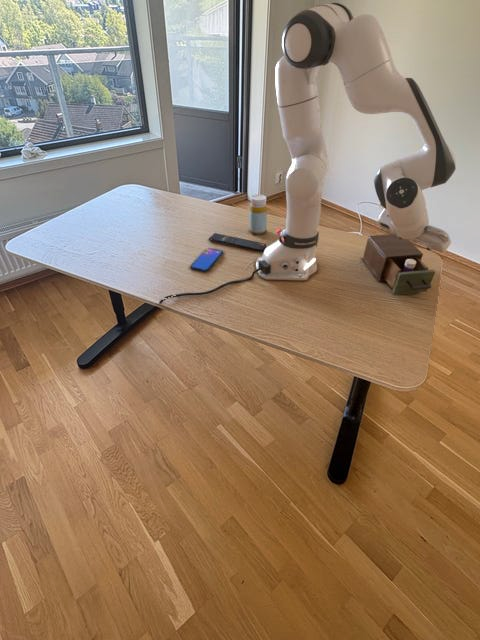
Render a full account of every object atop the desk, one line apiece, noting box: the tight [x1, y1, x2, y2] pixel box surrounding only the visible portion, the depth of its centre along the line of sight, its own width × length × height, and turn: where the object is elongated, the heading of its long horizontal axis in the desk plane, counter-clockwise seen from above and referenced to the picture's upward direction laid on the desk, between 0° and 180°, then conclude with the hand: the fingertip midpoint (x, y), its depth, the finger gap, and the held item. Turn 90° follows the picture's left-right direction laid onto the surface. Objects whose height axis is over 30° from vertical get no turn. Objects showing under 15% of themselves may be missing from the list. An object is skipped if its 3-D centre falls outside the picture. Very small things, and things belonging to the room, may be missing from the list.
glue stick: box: [402, 259, 416, 272], centre depth 113 cm, size 3×3×8 cm
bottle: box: [249, 194, 268, 236], centre depth 145 cm, size 7×7×15 cm
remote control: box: [208, 232, 267, 252], centre depth 141 cm, size 5×24×1 cm, turn 65°
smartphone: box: [190, 247, 224, 272], centre depth 132 cm, size 7×1×15 cm
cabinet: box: [362, 233, 424, 282], centre depth 123 cm, size 15×13×10 cm
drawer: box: [383, 257, 436, 296], centre depth 114 cm, size 18×12×8 cm, turn 7°
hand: (416, 242), depth 106 cm, fingers open, 8 cm apart
